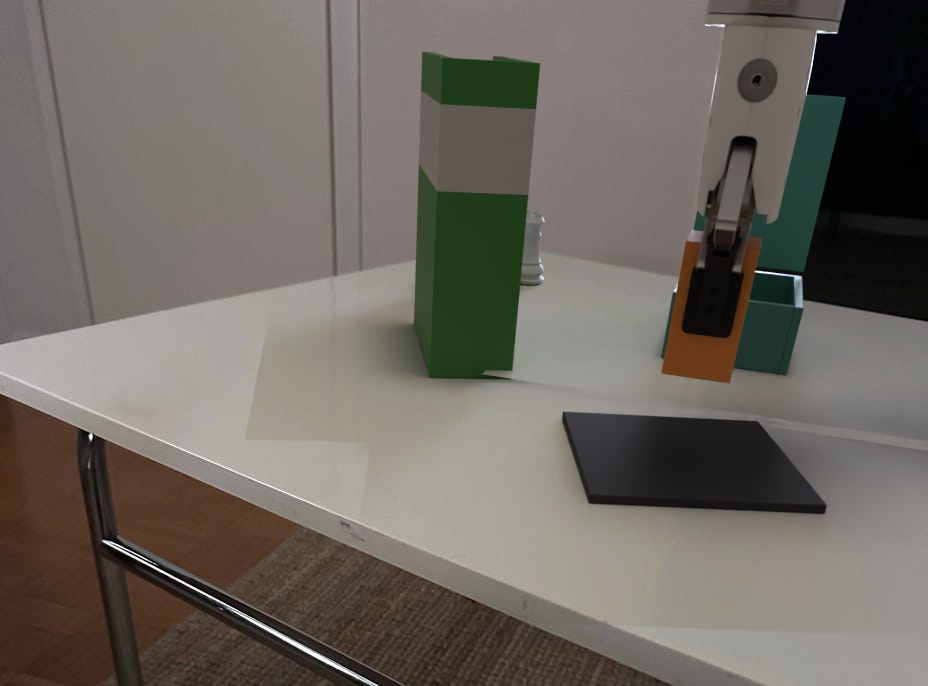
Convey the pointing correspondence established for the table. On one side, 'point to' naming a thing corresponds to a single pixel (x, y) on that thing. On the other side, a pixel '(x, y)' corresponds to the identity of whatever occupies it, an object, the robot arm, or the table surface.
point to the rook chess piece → (532, 250)
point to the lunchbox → (766, 323)
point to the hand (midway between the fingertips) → (708, 322)
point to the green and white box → (472, 210)
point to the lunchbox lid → (798, 188)
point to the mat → (685, 463)
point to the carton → (698, 351)
